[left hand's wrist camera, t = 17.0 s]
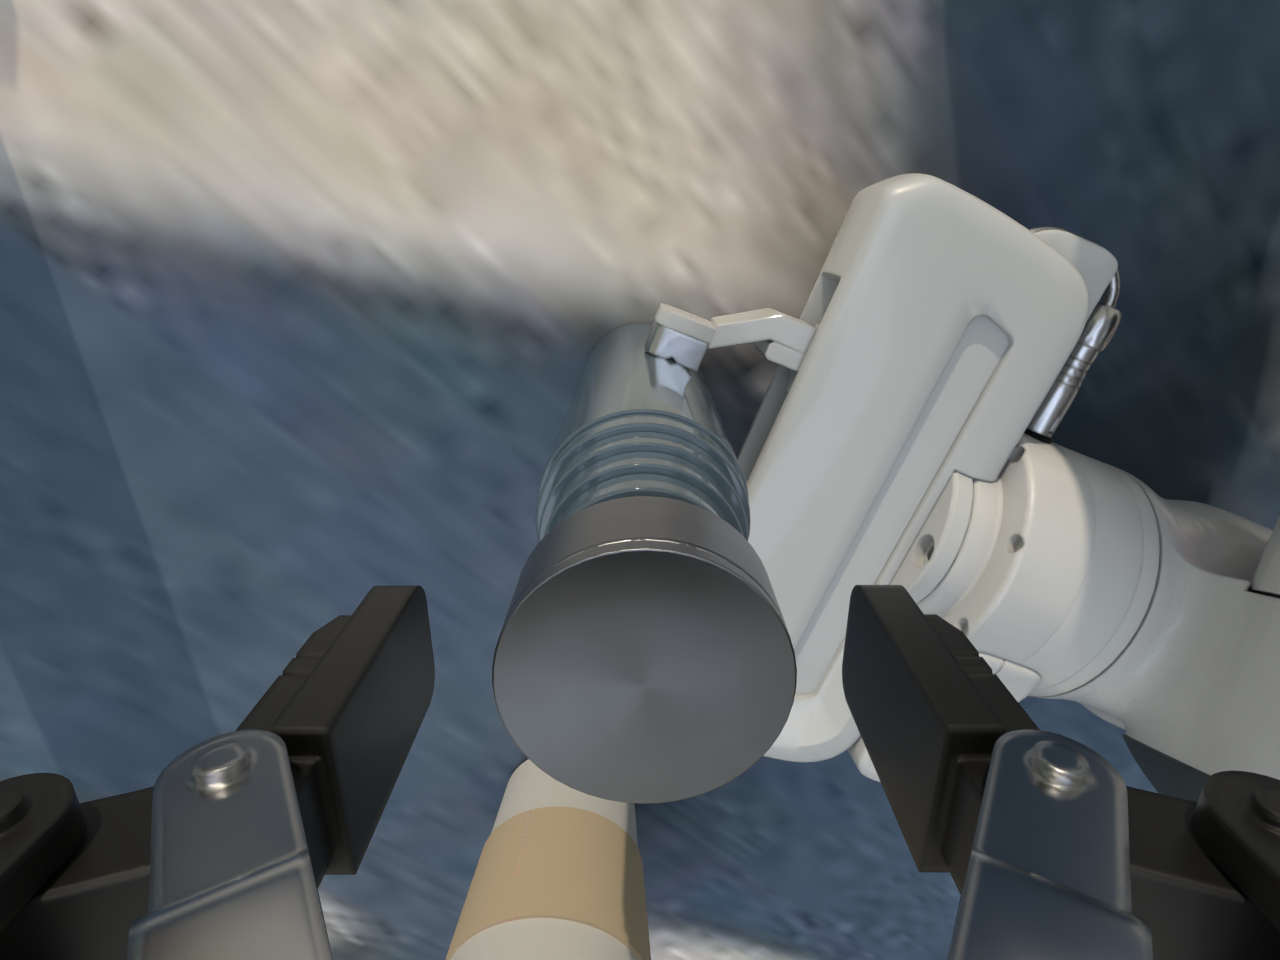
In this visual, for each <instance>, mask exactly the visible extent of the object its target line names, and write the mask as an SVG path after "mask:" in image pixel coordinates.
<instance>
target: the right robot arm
mask: <svg viewBox="0 0 1280 960" xmlns="http://www.w3.org/2000/svg"><path fill="white" fill-rule="evenodd" d="M1119 292H1120V274H1119V269H1118V263H1117V260H1116V259H1115V257H1114V256H1113V255H1112V254H1111V253H1110V252H1109V251H1108V250H1106V249H1105V248H1104V247H1103V246H1101V245H1100V244H1098V243H1096V242H1093V241H1091V240H1089V239H1087V238H1084V237H1082V236H1080V235H1077V234H1075V233H1073V232H1071V231H1068V230H1066V229H1064V228H1061V227H1056V226H1038V227H1033V228H1030V229H1027V228H1025V227H1024V226H1022V225H1021V224H1019V223H1018V222H1016V221H1015V220H1013V219H1012V218H1010V217H1009V216H1007V215H1006V214H1004V213H1002V212H1001V211H999V210H997V209H996V208H994V207H993V206H991V205H989V204H987V203H986V202H984V201H982V200H980V199H979V198H977V197H975V196H974V195H972V194H970V193H968V192H966V191H964V190H962V189H960V188H958V187H956V186H954V185H952V184H950V183H948V182H946V181H944V180H942V179H939V178H937V177H934V176H931V175H927V174H920V173H909V174H901V175H897V176H894V177H891V178H888V179H885V180H883V181H880V182H878V183H875V184H873V185H871V186H868V187H866V188H864V189H862V190H861V191H860V192H859V193H858V194H857V195H856V196H855V198H854V199H853V201H852V203H851V206H850V208H849V210H848V212H847V214H846V216H845V219H844V221H843V223H842V225H841V228H840V230H839V232H838V234H837V236H836V239H835V241H834V243H833V245H832V248H831V250H830V252H829V254H828V256H827V259H826V261H825V263H824V265H823V268H822V270H821V272H820V274H819V276H818V279H817V281H816V283H815V285H814V287H813V290H812V292H811V294H810V296H809V299H808V301H807V303H806V305H805V307H804V310H803V312H802V314H801V316H800V319H797V318H795V317H792V316H790V315H787V314H784V313H782V312H779V311H777V310H774V309H772V308H764V309H758V310H752V311H746V312H741V313H735V314H729V315H723V316H717V317H712V318H711V320H710V321H709V320H706V319H704V318H701V317H699V316H696V315H694V314H691V313H688V312H686V311H683V310H681V309H678V308H676V307H673V306H670V305H667V304H663V303H660V305H659V307H658V310H657V313H656V316H655V318H654V320H653V323H652V326H651V329H650V332H649V335H648V337H647V340H646V343H645V351H647V352H648V353H650V354H652V355H654V356H657V357H660V358H663V359H668V358H672V357H673V358H674V360H675V361H676V363H677V364H679V365H681V366H683V367H685V368H688V369H691V370H693V371H696V372H697V370H698V368H699V366H700V363H701V361H702V359H703V357H704V354H705V352H706V350H707V347H708V348H709V349H711V348H717V347H724V346H731V345H738V344H745V343H751V342H755V345H756V348H757V349H758V350H759V351H760V352H761V353H762V354H763V355H764V357H765V358H766V359H768V360H770V361H773V362H775V363H778V364H779V365H778V367H777V370H776V372H775V374H774V376H773V378H772V381H771V383H770V385H769V387H768V389H767V392H766V394H765V396H764V398H763V401H762V403H761V405H760V407H759V409H758V412H757V414H756V416H755V418H754V421H753V423H752V425H751V427H750V429H749V432H748V434H747V436H746V438H745V440H744V443H743V445H742V447H741V449H740V452H739V454H738V456H737V460H738V462H739V465H740V467H741V470H742V473H743V475H744V478H745V481H746V485H747V490H748V495H749V506H750V518H751V524H750V535H749V539H748V542H749V543H750V545H751V546H752V547H753V548H754V550H755V551H756V553H757V555H758V556H759V558H760V559H761V561H762V563H763V565H764V567H765V570H766V572H767V574H768V577H769V580H770V582H771V585H772V588H773V591H774V593H775V596H776V599H777V602H778V605H779V607H780V610H781V613H782V616H783V619H784V621H785V624H786V627H787V630H788V632H789V635H790V638H791V642H792V645H793V649H794V652H795V659H796V667H797V684H796V692H795V697H794V702H793V706H792V708H791V711H790V714H789V717H788V720H787V722H786V724H785V726H784V727H783V729H782V731H781V733H780V735H779V736H778V738H777V739H776V741H775V742H774V743H773V745H772V746H771V748H770V749H769V750H768V751H767V752H766V753H765V754H764V755H763V756H766V757H770V758H775V759H780V760H786V761H793V762H817V761H823V760H827V759H830V758H833V757H835V756H837V755H839V754H841V753H843V752H844V751H845V750H848V752H849V754H850V755H851V757H852V759H853V761H854V763H855V764H856V766H857V768H858V770H859V771H860V772H861V773H862V774H863V775H864V776H866V777H868V778H870V779H872V780H875V781H878V782H880V779H879V777H878V775H877V772H876V770H875V768H874V765H873V763H872V761H871V758H870V756H869V754H868V751H867V749H866V747H865V744H864V742H863V740H862V737H861V735H860V733H859V730H858V728H857V726H856V723H855V721H854V719H853V716H852V714H851V712H850V709H849V707H848V705H847V702H846V699H845V695H844V690H843V683H842V661H843V653H844V644H845V636H846V628H847V619H848V611H849V603H850V596H851V592H852V589H853V588H854V586H855V585H902V586H903V587H904V588H905V589H906V590H907V591H908V593H909V594H910V596H911V597H912V598H913V600H914V601H915V603H916V604H917V605H918V607H919V608H920V610H921V611H922V612H923V614H936V615H938V616H939V617H941V618H942V619H944V620H945V621H947V622H948V623H950V624H951V625H953V626H954V627H956V628H957V629H959V630H960V631H962V632H963V633H964V634H965V635H966V637H967V638H968V639H969V641H970V642H971V643H972V644H973V646H974V647H975V648H976V649H977V651H978V652H979V657H983V658H984V660H985V661H986V662H987V664H988V665H989V666H990V667H991V669H992V673H993V674H996V675H997V676H998V678H999V679H1000V680H1001V681H1002V683H1003V684H1004V685H1005V686H1006V688H1007V689H1008V690H1009V692H1010V693H1011V694H1012V695H1013V697H1014V698H1015V699H1016V700H1017V702H1020V701H1021V700H1023V699H1024V698H1026V697H1027V696H1030V697H1036V698H1047V699H1064V700H1071V701H1075V702H1079V703H1080V704H1082V705H1083V706H1084V707H1086V708H1087V709H1088V710H1090V711H1091V712H1092V713H1094V714H1095V715H1097V716H1098V717H1100V718H1101V719H1103V720H1105V721H1107V722H1109V723H1112V724H1114V725H1116V726H1118V727H1120V728H1122V729H1125V730H1126V733H1125V734H1123V737H1124V740H1125V742H1126V744H1127V746H1128V748H1129V750H1130V752H1131V754H1132V756H1133V757H1134V759H1135V761H1136V762H1137V764H1138V765H1139V767H1140V768H1141V770H1142V771H1143V773H1144V774H1145V775H1146V777H1147V778H1148V779H1149V781H1150V782H1151V784H1152V785H1153V786H1154V788H1155V789H1156V790H1157V792H1158V793H1159V794H1163V795H1167V796H1172V797H1176V798H1181V799H1185V800H1190V801H1194V802H1198V800H1199V797H1200V794H1201V792H1202V789H1203V786H1204V783H1205V781H1206V780H1207V779H1208V777H1209V776H1211V775H1213V774H1214V773H1218V772H1221V771H1246V772H1252V773H1257V774H1261V775H1265V776H1269V777H1272V778H1275V779H1278V780H1280V515H1279V518H1278V520H1277V522H1276V525H1275V527H1274V529H1273V530H1271V529H1269V528H1267V527H1264V526H1262V525H1260V524H1257V523H1255V522H1253V521H1250V520H1248V519H1246V518H1243V517H1241V516H1238V515H1236V514H1234V513H1231V512H1229V511H1226V510H1223V509H1220V508H1217V507H1214V506H1211V505H1207V504H1204V503H1199V502H1194V501H1186V500H1171V499H1164V498H1162V497H1160V496H1159V495H1157V494H1156V493H1155V492H1154V491H1153V490H1152V489H1151V488H1150V487H1149V486H1147V485H1146V484H1145V483H1144V482H1142V481H1141V480H1139V479H1138V478H1136V477H1134V476H1133V475H1131V474H1129V473H1127V472H1125V471H1123V470H1121V469H1118V468H1116V467H1114V466H1111V465H1108V464H1106V463H1103V462H1101V461H1098V460H1096V459H1093V458H1090V457H1088V456H1085V455H1083V454H1080V453H1078V452H1075V451H1073V450H1070V449H1067V448H1065V447H1062V446H1060V445H1057V444H1056V443H1053V442H1052V441H1051V440H1050V439H1051V437H1052V436H1053V434H1054V432H1055V431H1056V429H1057V427H1058V426H1059V424H1060V423H1061V421H1062V419H1063V418H1064V416H1065V414H1066V413H1067V411H1068V409H1069V408H1070V406H1071V405H1072V403H1073V401H1074V399H1075V397H1076V395H1077V393H1078V392H1079V390H1078V388H1080V387H1081V385H1082V383H1083V382H1082V380H1084V378H1085V376H1086V372H1088V370H1089V369H1090V367H1091V366H1090V364H1093V362H1094V360H1095V359H1096V357H1097V356H1098V354H1099V352H1103V350H1104V349H1105V348H1106V347H1107V345H1108V344H1109V342H1110V341H1111V339H1112V337H1113V336H1114V334H1115V332H1116V330H1117V327H1118V325H1119V322H1120V320H1121V316H1122V312H1121V311H1119V310H1117V309H1115V306H1116V303H1117V300H1118V297H1119ZM1103 293H1104V295H1103ZM1102 295H1103V299H1102V302H1101V304H1100V303H1098V302H1099V300H1100V298H1101V296H1102Z"/></svg>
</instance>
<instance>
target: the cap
mask: <svg viewBox="0 0 1280 960" xmlns="http://www.w3.org/2000/svg"><path fill="white" fill-rule="evenodd" d="M492 684H493V691H494V698H495V702H496V705H497V708H498V711H499V715H500V717H501V719H502V721H503V724H504V726H505V728H506V730H507V732H508V733H509V735H510V736H511V738H512V739H513V741H514V742H515V744H516V745H517V746H518V748H519V749H520V750H521V751H522V752H523V753H524V754H525V756H526V757H527V758H528V759H529V760H530V761H532V762H533V763H534V764H535V765H536V766H537V767H538V768H540V769H541V770H542V771H544V772H545V773H546V774H548V775H549V776H551V777H552V778H554V779H555V780H557V781H559V782H561V783H563V784H565V785H566V786H568V787H570V788H572V789H575V790H577V791H580V792H583V793H585V794H588V795H591V796H595V797H598V798H602V799H606V800H612V801H618V802H624V803H639V804H647V803H664V802H671V801H678V800H682V799H686V798H690V797H694V796H698V795H701V794H703V793H706V792H709V791H712V790H714V789H716V788H718V787H720V786H722V785H724V784H726V783H728V782H730V781H732V780H733V779H735V778H736V777H738V776H739V775H741V774H743V773H744V772H745V771H747V770H748V769H749V768H750V767H751V766H753V765H754V764H755V763H756V762H757V761H759V759H760V758H761V757H762V756H763V755H764V754H765V753H766V752H767V751H768V750H769V749H770V748H771V746H772V745H773V743H774V742H775V741H776V739H777V738H778V736H779V735H780V733H781V731H782V729H783V727H784V726H785V724H786V722H787V720H788V717H789V714H790V711H791V708H792V706H793V702H794V697H795V692H796V684H797V667H796V659H795V652H794V649H793V645H792V642H791V638H790V635H789V632H788V630H787V627H786V624H785V621H784V619H783V616H782V613H781V610H780V607H779V605H778V602H777V599H776V596H775V593H774V591H773V588H772V585H771V582H770V580H769V577H768V574H767V572H766V570H765V567H764V565H763V563H762V561H761V559H760V558H759V556H758V555H757V553H756V551H755V550H754V548H753V547H752V546H751V545H750V543H749V542H748V541H747V540H746V539H745V538H744V537H743V535H742V534H741V533H739V532H738V531H737V530H736V529H735V528H734V527H732V526H731V525H730V524H729V523H727V522H726V521H724V520H723V519H722V518H720V517H718V516H717V515H715V514H713V513H711V512H709V511H707V510H705V509H703V508H701V507H699V506H696V505H693V504H690V503H687V502H684V501H680V500H675V499H670V498H665V497H652V496H634V497H625V498H619V499H613V500H608V501H605V502H601V503H598V504H595V505H592V506H590V507H588V508H586V509H583V510H581V511H579V512H577V513H575V514H573V515H572V516H570V517H568V518H567V519H565V520H564V521H562V522H561V523H560V524H558V525H557V526H556V527H555V528H553V529H552V530H551V531H550V532H549V533H548V534H547V535H546V536H545V537H544V538H543V539H542V540H541V541H540V542H539V543H538V545H537V546H536V547H535V549H534V550H533V552H532V553H531V555H530V556H529V558H528V560H527V562H526V564H525V566H524V567H523V569H522V572H521V575H520V578H519V581H518V584H517V587H516V589H515V592H514V595H513V598H512V601H511V604H510V607H509V610H508V613H507V616H506V619H505V622H504V625H503V628H502V631H501V634H500V637H499V640H498V643H497V646H496V649H495V654H494V660H493V666H492Z"/></svg>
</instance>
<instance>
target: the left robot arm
mask: <svg viewBox="0 0 1280 960" xmlns="http://www.w3.org/2000/svg"><path fill="white" fill-rule="evenodd" d="M434 678H435V667H434V658H433V650H432V642H431V633H430V625H429V617H428V609H427V601H426V595H425V592H424V590H423V588H422V587H421V586H374V587H373V588H372V589H371V590H370V591H369V592H368V594H367V595H366V597H365V598H364V599H363V601H362V602H361V603H360V605H359V606H358V608H357V609H356V610H355V612H354V613H353V614H352V616H338V617H337V618H335V619H334V620H332V621H331V622H329V623H328V624H326V625H325V626H323V627H322V628H320V629H319V630H317V631H315V632H314V633H313V634H312V635H311V636H310V637H309V639H308V640H307V641H306V643H305V644H304V645H303V646H302V648H301V649H300V650H299V651H298V653H297V656H296V658H293V659H292V660H291V661H290V663H289V664H288V665H287V666H286V668H285V669H284V670H283V675H282V676H279V677H278V678H277V679H276V680H275V682H274V683H273V684H272V685H271V687H270V688H269V689H268V690H267V692H266V693H265V694H264V695H263V697H262V698H261V699H260V701H259V702H258V703H257V704H256V706H255V707H254V708H253V709H252V711H251V712H250V713H249V714H248V716H247V717H246V718H245V719H244V721H243V722H242V723H241V724H240V726H239V727H238V728H237V730H236V731H233V732H229V733H225V734H221V735H218V736H215V737H213V738H210V739H207V740H205V741H203V742H201V743H199V744H197V745H195V746H193V747H191V748H190V749H188V750H186V751H185V752H183V753H182V754H181V755H179V756H178V757H177V758H175V759H174V760H173V761H172V762H171V763H169V765H168V766H167V767H166V768H165V769H164V770H163V771H162V772H161V774H160V775H159V777H158V778H157V780H156V783H155V785H154V787H150V788H146V789H142V790H138V791H134V792H129V793H125V794H120V795H116V796H112V797H107V798H103V799H98V800H94V801H89V802H85V803H80V804H79V801H78V799H77V796H76V793H75V790H74V788H73V785H72V783H71V782H70V781H69V779H67V778H66V777H64V776H61V775H58V774H53V773H34V774H28V775H22V776H18V777H14V778H10V779H7V780H3V781H0V960H333V958H332V954H331V949H330V944H329V940H328V935H327V930H326V926H325V921H324V916H323V912H322V907H321V903H320V898H319V894H318V887H319V885H320V883H321V881H322V879H323V877H324V875H325V874H356V873H357V870H358V868H359V866H360V863H361V861H362V859H363V856H364V854H365V852H366V850H367V847H368V845H369V843H370V840H371V838H372V836H373V833H374V831H375V829H376V827H377V824H378V822H379V820H380V817H381V815H382V813H383V810H384V808H385V806H386V804H387V801H388V799H389V797H390V794H391V792H392V790H393V787H394V785H395V783H396V781H397V778H398V776H399V774H400V771H401V769H402V767H403V764H404V762H405V760H406V758H407V755H408V753H409V751H410V748H411V746H412V744H413V741H414V739H415V737H416V735H417V732H418V730H419V728H420V725H421V723H422V721H423V718H424V716H425V714H426V712H427V709H428V707H429V704H430V702H431V698H432V694H433V688H434ZM842 683H843V690H844V695H845V699H846V702H847V705H848V707H849V709H850V712H851V714H852V716H853V719H854V721H855V723H856V726H857V728H858V730H859V733H860V735H861V737H862V740H863V742H864V744H865V747H866V749H867V751H868V754H869V756H870V758H871V761H872V763H873V765H874V768H875V770H876V772H877V775H878V777H879V779H880V782H881V784H882V786H883V789H884V791H885V793H886V796H887V798H888V800H889V803H890V805H891V807H892V810H893V812H894V814H895V817H896V819H897V821H898V824H899V826H900V828H901V831H902V833H903V835H904V838H905V840H906V842H907V845H908V847H909V849H910V852H911V854H912V856H913V859H914V861H915V863H916V866H917V868H918V870H919V872H950V873H951V875H952V877H953V879H954V882H955V884H956V886H957V888H958V890H959V892H960V894H961V898H960V903H959V907H958V912H957V916H956V921H955V926H954V930H953V935H952V940H951V944H950V949H949V954H948V958H947V960H1280V780H1278V779H1275V778H1272V777H1269V776H1265V775H1261V774H1257V773H1252V772H1246V771H1221V772H1218V773H1214V774H1213V775H1211V776H1209V777H1208V779H1207V780H1206V781H1205V783H1204V786H1203V789H1202V792H1201V794H1200V797H1199V800H1198V802H1194V801H1190V800H1185V799H1181V798H1176V797H1172V796H1167V795H1163V794H1158V793H1154V792H1149V791H1145V790H1141V789H1136V788H1132V787H1128V786H1126V785H1125V783H1124V780H1123V778H1122V777H1121V775H1120V774H1119V772H1118V771H1117V770H1116V769H1115V768H1114V767H1113V766H1112V765H1111V763H1109V762H1108V761H1107V760H1106V759H1105V758H1103V757H1102V756H1101V755H1099V754H1098V753H1097V752H1095V751H1094V750H1092V749H1090V748H1089V747H1087V746H1085V745H1083V744H1081V743H1079V742H1077V741H1075V740H1073V739H1070V738H1067V737H1065V736H1062V735H1059V734H1055V733H1051V732H1047V731H1041V730H1039V729H1038V727H1037V726H1036V725H1035V723H1034V722H1033V721H1032V720H1031V718H1030V717H1029V716H1028V714H1027V713H1026V712H1025V711H1024V709H1023V708H1022V707H1021V706H1020V704H1019V703H1018V702H1017V700H1016V699H1015V698H1014V697H1013V695H1012V694H1011V693H1010V692H1009V690H1008V689H1007V688H1006V686H1005V685H1004V684H1003V683H1002V681H1001V680H1000V679H999V678H998V676H997V675H996V674H993V673H992V669H991V667H990V666H989V665H988V664H987V662H986V661H985V660H984V658H983V657H979V652H978V651H977V649H976V648H975V647H974V646H973V644H972V643H971V642H970V641H969V639H968V638H967V637H966V635H965V634H964V633H963V632H962V631H960V630H959V629H957V628H956V627H954V626H953V625H951V624H950V623H948V622H947V621H945V620H944V619H942V618H941V617H939V616H938V615H936V614H923V612H922V611H921V610H920V608H919V607H918V605H917V604H916V603H915V601H914V600H913V598H912V597H911V596H910V594H909V593H908V591H907V590H906V589H905V588H904V587H903V586H902V585H855V586H854V588H853V589H852V592H851V596H850V603H849V611H848V619H847V628H846V636H845V644H844V653H843V661H842Z"/></svg>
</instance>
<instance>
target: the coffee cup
mask: <svg viewBox="0 0 1280 960" xmlns="http://www.w3.org/2000/svg"><path fill="white" fill-rule="evenodd" d="M446 960H651V955H650V944H649V932H648V921H647V909H646V898H645V886H644V874H643V863H642V858H641V854H640V852H639V849H638V841H637V829H636V816H635V804H634V803H624V802H618V801H612V800H606V799H602V798H598V797H595V796H591V795H588V794H585V793H583V792H580V791H577V790H575V789H572V788H570V787H568V786H566V785H565V784H563V783H561V782H559V781H557V780H555V779H554V778H552V777H551V776H549V775H548V774H546V773H545V772H544V771H542V770H541V769H540V768H538V767H537V766H536V765H535V764H534V763H533V762H532V761H530V760H529V759H528V760H526V761H525V762H524V763H522V764H521V765H520V766H519V767H518V768H517V769H516V770H515V771H514V773H513V774H512V776H511V778H510V779H509V782H508V785H507V788H506V791H505V794H504V797H503V800H502V803H501V806H500V809H499V812H498V815H497V818H496V821H495V824H494V827H493V830H492V833H491V835H490V836H489V838H488V839H487V841H486V843H485V845H484V848H483V850H482V853H481V856H480V859H479V862H478V865H477V868H476V871H475V874H474V877H473V880H472V883H471V886H470V889H469V892H468V895H467V898H466V901H465V904H464V907H463V910H462V912H461V915H460V918H459V921H458V924H457V927H456V930H455V933H454V936H453V939H452V942H451V945H450V948H449V951H448V954H447V957H446Z"/></svg>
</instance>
